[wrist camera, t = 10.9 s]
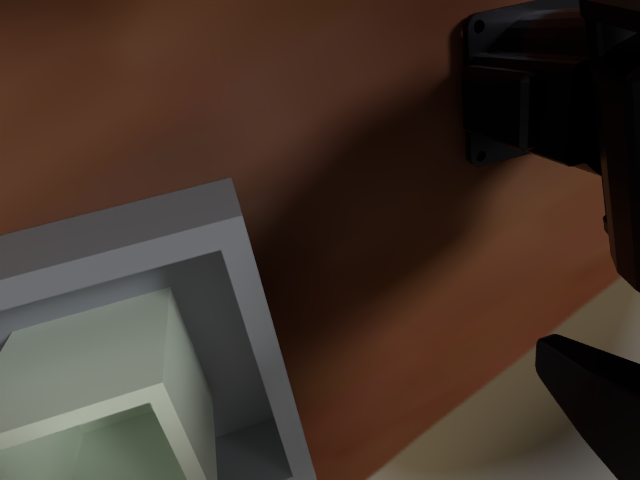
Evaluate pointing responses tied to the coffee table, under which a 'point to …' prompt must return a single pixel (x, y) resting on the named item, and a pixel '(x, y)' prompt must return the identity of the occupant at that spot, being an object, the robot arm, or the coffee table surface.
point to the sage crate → (106, 397)
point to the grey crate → (192, 300)
